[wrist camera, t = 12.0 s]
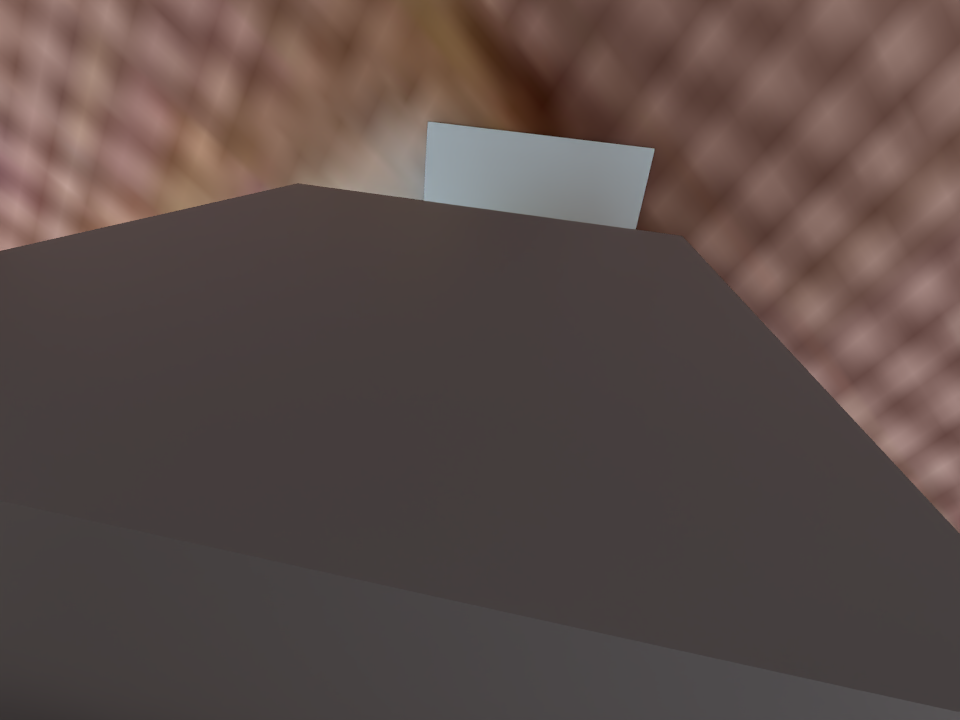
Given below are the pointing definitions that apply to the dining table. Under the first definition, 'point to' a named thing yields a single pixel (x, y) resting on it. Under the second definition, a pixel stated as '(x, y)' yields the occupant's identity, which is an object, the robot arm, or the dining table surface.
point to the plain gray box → (439, 482)
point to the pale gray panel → (536, 174)
